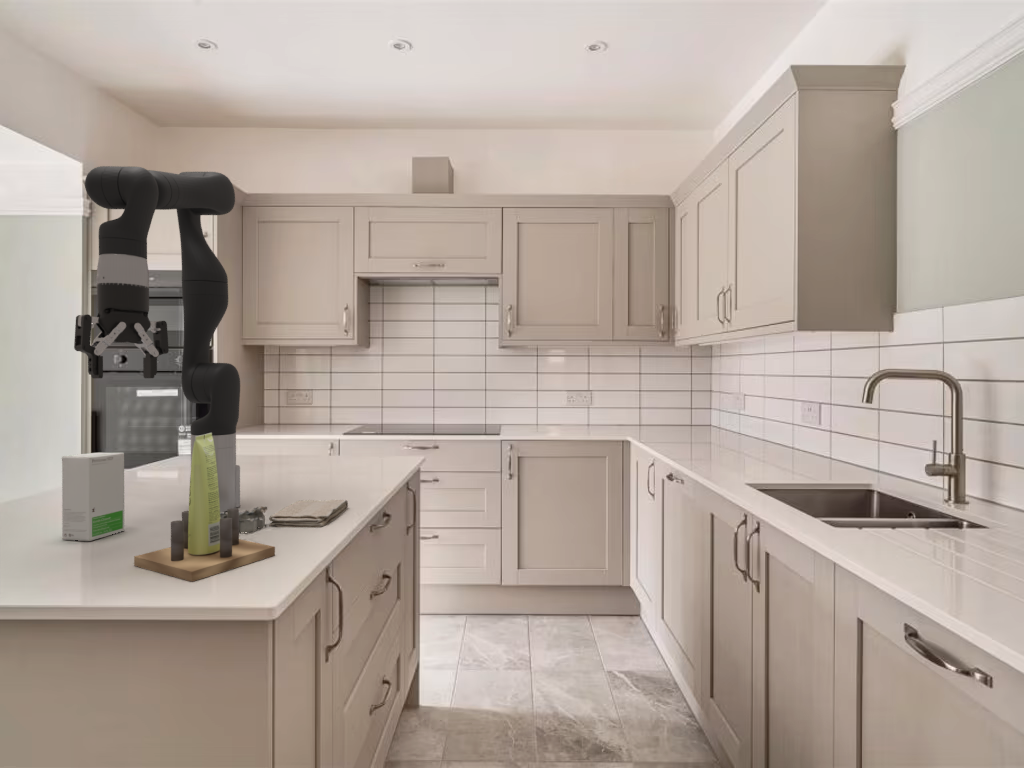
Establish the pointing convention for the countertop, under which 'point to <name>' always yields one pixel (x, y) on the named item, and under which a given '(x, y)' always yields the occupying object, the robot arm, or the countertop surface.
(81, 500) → the skincare box
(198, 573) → the cradle
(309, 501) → the washcloth
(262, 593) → the countertop surface
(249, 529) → the egg carton
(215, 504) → the tube
